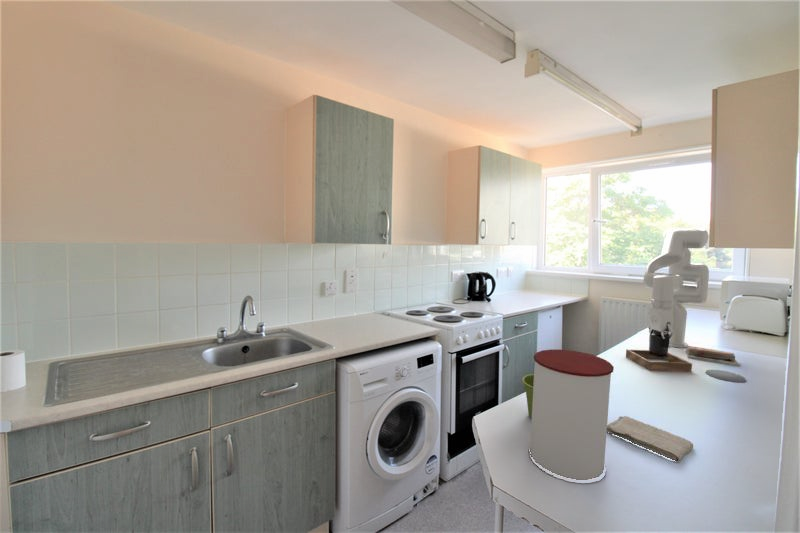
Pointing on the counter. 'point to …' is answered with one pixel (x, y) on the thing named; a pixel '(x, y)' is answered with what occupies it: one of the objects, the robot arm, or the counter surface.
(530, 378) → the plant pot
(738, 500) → the counter surface
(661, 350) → the supplement bottle
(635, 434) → the washcloth
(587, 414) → the container
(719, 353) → the packaged product
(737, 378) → the mat
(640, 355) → the bin
